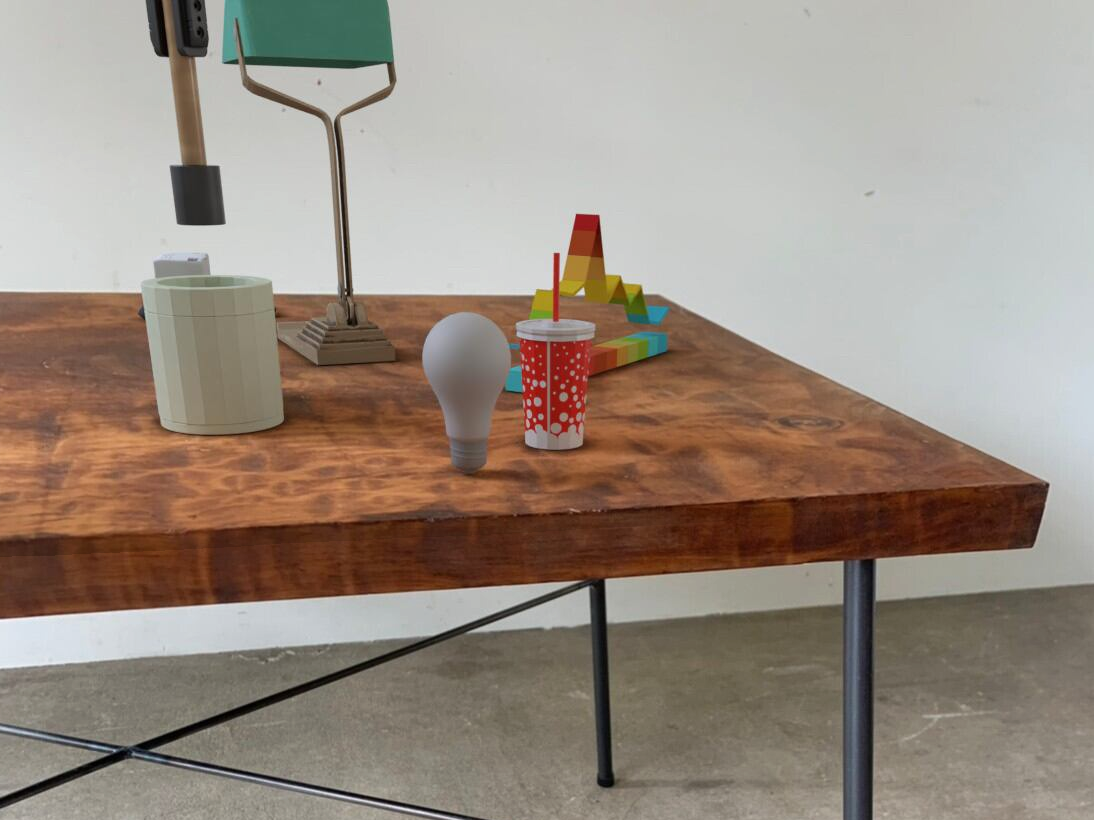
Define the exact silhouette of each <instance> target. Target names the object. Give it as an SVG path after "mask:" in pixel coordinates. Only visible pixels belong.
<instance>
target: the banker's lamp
mask: <svg viewBox="0 0 1094 820" xmlns="http://www.w3.org/2000/svg"><path fill="white" fill-rule="evenodd" d="M223 10H224V11H223V29H222V31H223V32H222V52H221V63H222V64H224V65H232V66H233V65H235V66H238V67H239V71H240V77H241V78H240V79H241V84H242V86H243V87H244V89H246V90H247V92H249V93H251V94H253V95H255V96H258V97H259V98H263V99H266V100H269V101H271V102H274V103H277V104H281V105H283V106H287V107H289V108H292V109H295V110H298V111H300V112H302V113H305V114H309V115H312V116H315V117H317V118H318V119H320V120H321V121H322V122H323V125H324V127H325V131H326V137H327V143H328V145H327V146H328V152H329V153H328V154H329V167H330V168H329V169H330V179H331V180H330V181H331V196H332V198H331V199H332V211H333V225H334V226H333V227H334V240H335V241H334V242H335V254H336V255H335V256H336V270H337V295H338V298H339V300H338V301H339V302H329V303H328V304H327V307H326V316H325V317H321V316H320V317H311V320H306V321H305V320H304V321H283V322H276V332H277V340H280V341H281V342H283V343H284V344H286V345H287V346H289V348H291V349H293V350H295V351H296V352H298V353H299V354H301V355H302V356H304V357H305V358H307V359H308V360H309V361H311V362H312V363H314V364H315V365H317V366H324V365H325V366H326V365H327V366H328V365H343V364H344V365H345V364H358V363H378V362H393V361H396V347H395V345H394V344H392V340H391V339H388V338H387V334H386V333H384V330H383V328H381V327H379V324H377V323H375V322H373V321H371V320H369V317H368V311H367V308H366V305H365V303H364V301H363V302H362V301H354V287H353V285H354V284H353V271H352V255H351V237H350V223H349V221H350V220H349V205H348V189H347V174H346V173H347V172H346V159H345V146H344V138H343V132H342V125H341V119H342V117H343V116H346V115H349V114H352V113H353V112H356V111H358V110H361V109H363V108H366V107H368V106H369V107H370V106H371V105H374V104H376V103H378V102H381V101H383V100H386V99H387V98H388V97H390V95H391V94H392V93H393V91H394V90H395V86H396V84H397V82H398V80H397V79H398V78H397V73H396V67H395V56H394V45H393V37H392V35H393V34H392V25H391V24H392V23H391V15H390V14H391V13H390V6H389V1H388V0H224V9H223ZM381 65H386V68H387V74H388V81H389V85H388V86H386V87H384V88H383V89H381V90H379V91H377V92H375V93H372V94H371V95H369V96H367V97H365V98H363V99H360V100H358V101H357V102H355V103H353V104H351V105H349V106H346V107H345V108H343V109H342V110H341V111H339V112H338V114H337V115H336V116H335V118H334V120H333V121H332V119H331V117H330V115H329V114H328V113H327V112H326V111H324V110H323V109H321V108H320V107H317V106H315V105H312V104H310V103H307V102H305V101H302V100H300V99H299V98H296V97H293V96H291V95H288V94H286V93H283V92H281V91H279V90H277V89H274V88H272V87H270V86H267V85H264V84H262V83H261V82H257V81H256V80H254V79H253V78H251V77H250V76H249V75H248V72H247V66H259V67H260V66H263V67H286V68H287V67H289V68H290V67H291V68H311V69H312V68H314V69H315V68H316V69H338V70H342V69H343V70H349V69H350V70H351V69H352V70H354V69H361V68H367V67H374V66H381Z"/></svg>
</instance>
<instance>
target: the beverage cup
mask: <svg viewBox="0 0 1094 820" xmlns="http://www.w3.org/2000/svg"><path fill="white" fill-rule="evenodd" d="M552 264H553V268H552V269H553V271H552V273H553V275H552V276H553V277H552V278H553V279H552V281H553V282H552V286H553V287H552V289H553V319H534V320H529V319H526V320H521V321H517V322H516V323H515V330H516V335H515V336H516V337H518V338H519V345H520V349H519V352H520V366H521V372H522V390H523V392H522V405H523V407H522V408H523V421H524V422H523V423H524V439H525V441H524V442H525V445H527V446H528V447H532V448H535V449H540V450H553V451H555V450H556V451H557V450H558V451H559V450H571V449H576V448H579V447H581V446H583V442H584V430H585V429H584V428H585V417H586V406H587V395H588V394H587V393H588V383H589V376H588V371H589V360H590V348H591V346H592V345H591V344H592V339H594V338H595V331H596V323H593V322H591V321H586V320H579V319H568V318H560V298H559V282H560V275H561V274H560V272H561V271H560V270H561V268H560V267H561V265H560V264H561V253H560V252H553V263H552Z"/></svg>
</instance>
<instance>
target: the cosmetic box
mask: <svg viewBox="0 0 1094 820" xmlns="http://www.w3.org/2000/svg"><path fill="white" fill-rule="evenodd" d="M209 257H210V256H209V254H208V253H205V252H171V253H160V255H159V256H157V257H156V258H155V259H154V260H152V261H153V262H152V264H153V272H154V278H162V277H172V276H190V275H211V265H210V258H209Z"/></svg>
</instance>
